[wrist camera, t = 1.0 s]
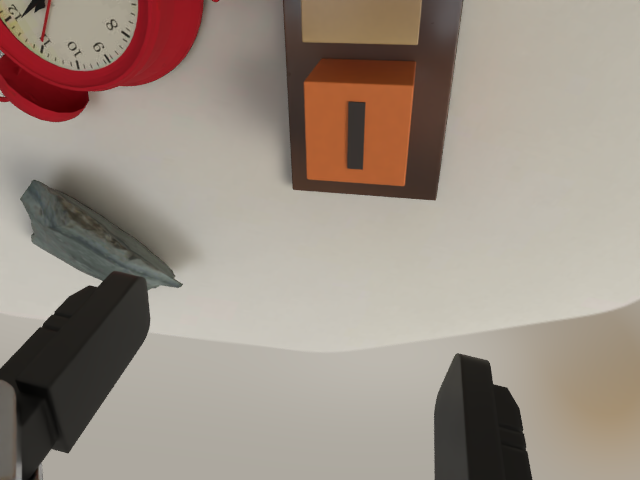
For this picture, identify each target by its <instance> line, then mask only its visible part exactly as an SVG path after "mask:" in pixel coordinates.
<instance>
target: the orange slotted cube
mask: <svg viewBox="0 0 640 480" xmlns="http://www.w3.org/2000/svg"><path fill="white" fill-rule="evenodd" d="M415 69H416V62H415V61H384V60H350V59H321V60H320V61H319V63H318V64H317V65H316V66H315V68H314V69H313V70H312V72H311V73H310V74H309V76H308V77H307V78H306V80H305V81H304V109H305V139H306V169H307V179H310V180H324V181H338V182H352V183H366V184H380V185H394V186H404V185H405V178H406V167H407V157H408V146H409V135H410V125H411V114H412V103H413V92H414V81H415Z"/></svg>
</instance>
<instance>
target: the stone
mask: <svg viewBox="0 0 640 480" xmlns="http://www.w3.org/2000/svg"><path fill="white" fill-rule="evenodd" d="M20 200H21V201H22V203H23V204H24V206H25V208H26V210H27V212H28V214H29V217H30V219H31V225H32V229H33V232H34V233H33V234H32V235H31V238H32V242H33V243H34V244H35V245H37V246H38V247H40V248H42V249H43V250H45V251H47V252H48V253H50V254H52V255H54V256H55V257H57V258H59V259H61V260H62V261H64V262H66V263H67V264H69V265H71V266H73V267H74V268H76V269H78V270H80V271H82V272H84V273H86V274H88V275H90V276H93V277H95V278H97V279H100V280H102V281H104V280H105V279H106V277H107V276H108V275H109V274H110V273H112V272H113V271H120V272H124V273H128V274H132V275H136V276H141V277H144V278H145V279H146V282H147V290H149V289H151V288H156V287H158V286H160V285H163V286H169V287H176V288H179V287H181V286H182V285H183V284H181V283H180V282H178V281H177V280H175V279H174V277H175V275H174V273H173V271H172V270H171V269H170V268H169V267H168V266H167V265H166V264H165V263H164V262H162V261H161V260H160V259H159V258H158V257H157V256H155V255H153V254H152V253H151V252H150V251H149V250H148V249H147V248H146V247H145V246H144V245H142V244H141V243H140V242H139V241H137V240H136V239H135V238H134V237H132V236H130V235H129V234H127V233H125V232H124V231H122V230H120V229H119V228H117V227H116V226H114V225H113V224H111V223H110V222H109V221H107V220H106V219H105V218H104V217H102V216H101V215H99V214H97V213H96V212H94V211H92V210H91V209H89V208H88V207H86V206H85V205H83V204H81V203H80V202H78V201H76V200H75V199H73V198H72V197H70V196H68V195H66V194H64V193H62V192H59V191H57V190H54V189H52V188H50V187H48V186H47V185H45V184H43V183H42V182H40V181H37V180H33V181H32V182H31V184H30V186H29V187H28V188H27V190H26V191H25V193H24V194H23V195H22V197H21V198H20Z"/></svg>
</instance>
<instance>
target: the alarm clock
mask: <svg viewBox="0 0 640 480" xmlns="http://www.w3.org/2000/svg"><path fill="white" fill-rule="evenodd" d="M212 1H213V2H218V1H219V0H212ZM203 2H204V0H0V50H1V51H2V52H3V53H4V55H3V56H2V57H1V58H0V90H1V91H2V93H3V94H4V96H5V97H0V101H1V102H9V101H10V102H11V103H12V104H14V105H15V106H16V107H17V108H19V109H20V110H22V111H23V112H25V113H27V114H29V115H31V116H33V117H36V118H38V119H41V120H45V121H50V122H62V121H67V120H70V119H72V118H75V117H76V116H78V115H79V114H80V113H81V112H82V111H83V109H84V108H85V107H86V105H87V103H88V101H89V96H88V91H104V90H108V89H112V88H115V87H118V86H137V85H142V84H146V83H149V82H152V81H155V80H157V79H159V78H161V77H162V76H164V75H166V74H167V73H169V72H170V71H172V70H173V69H174V68H175V67H176V66H177V65H178V64H179V63H180V62H181V61H182V60H183V59H184V58H185V56H186V55H187V53H188V52H189V50H190V49H191V47H192V45H193V43H194V40H195V38H196V36H197V33H198V30H199V27H200V23H201V18H202V12H203Z"/></svg>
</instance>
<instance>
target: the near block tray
mask: <svg viewBox="0 0 640 480" xmlns="http://www.w3.org/2000/svg"><path fill="white" fill-rule="evenodd" d="M462 6H463V0H283V11H284V30H285V49H286V68H287V88H288V107H289V126H290V145H291V165H292V184H293V190H304V191H318V192H331V193H344V194H357V195H371V196H384V197H397V198H411V199H424V200H436V197H437V190H438V182H439V175H440V168H441V160H442V153H443V146H444V138H445V131H446V124H447V116H448V109H449V102H450V94H451V87H452V79H453V72H454V65H455V57H456V50H457V43H458V35H459V28H460V21H461V13H462ZM321 59H350V60H384V61H415V62H416V69H415V81H414V92H413V103H412V114H411V125H410V135H409V146H408V157H407V167H406V178H405V185H404V186H394V185H380V184H366V183H352V182H338V181H324V180H310V179H307V169H306V139H305V109H304V81H305V80H306V78H307V77H308V76H309V74H310V73H311V72H312V70H313V69H314V68H315V66H316V65H317V64H318V63H319V61H320V60H321Z"/></svg>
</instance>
